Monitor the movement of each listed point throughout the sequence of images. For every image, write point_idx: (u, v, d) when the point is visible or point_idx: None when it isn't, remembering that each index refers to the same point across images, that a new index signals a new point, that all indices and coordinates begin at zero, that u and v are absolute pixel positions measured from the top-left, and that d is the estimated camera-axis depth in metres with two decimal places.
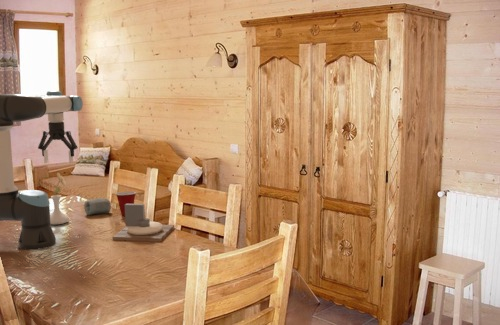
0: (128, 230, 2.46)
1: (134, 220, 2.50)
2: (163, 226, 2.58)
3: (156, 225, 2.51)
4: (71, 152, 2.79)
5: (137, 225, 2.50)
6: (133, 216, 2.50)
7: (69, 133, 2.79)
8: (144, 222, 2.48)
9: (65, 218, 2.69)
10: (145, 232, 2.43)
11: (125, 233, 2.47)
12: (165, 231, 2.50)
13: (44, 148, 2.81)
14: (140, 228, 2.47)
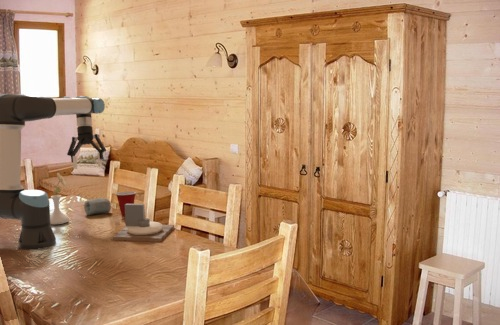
0: (128, 230, 2.46)
1: (134, 220, 2.50)
2: (163, 226, 2.58)
3: (156, 225, 2.51)
4: (100, 155, 2.78)
5: (137, 225, 2.50)
6: (133, 216, 2.50)
7: (98, 136, 2.80)
8: (144, 222, 2.48)
9: (65, 218, 2.69)
10: (145, 232, 2.43)
11: (125, 233, 2.47)
12: (165, 231, 2.50)
13: (73, 154, 2.80)
14: (140, 228, 2.47)
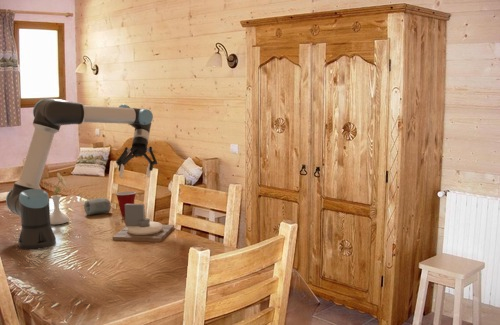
0: (128, 230, 2.46)
1: (134, 220, 2.50)
2: (163, 226, 2.58)
3: (156, 225, 2.51)
4: (150, 165, 2.65)
5: (137, 225, 2.50)
6: (133, 216, 2.50)
7: (152, 149, 2.71)
8: (144, 222, 2.48)
9: (65, 218, 2.69)
10: (145, 232, 2.43)
11: (125, 233, 2.47)
12: (165, 231, 2.50)
13: (122, 162, 2.67)
14: (140, 228, 2.47)
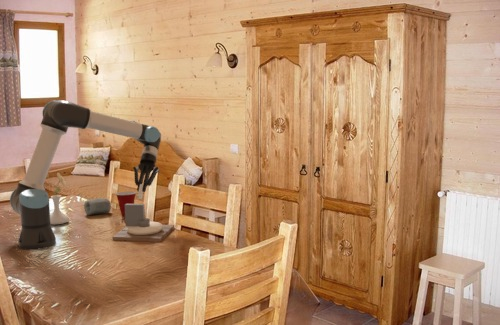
0: (128, 230, 2.46)
1: (134, 220, 2.50)
2: (163, 226, 2.58)
3: (156, 225, 2.51)
4: (143, 186, 2.61)
5: (137, 225, 2.50)
6: (133, 216, 2.50)
7: (157, 170, 2.67)
8: (144, 222, 2.48)
9: (65, 218, 2.69)
10: (145, 232, 2.43)
11: (125, 233, 2.47)
12: (165, 231, 2.50)
13: (140, 181, 2.62)
14: (140, 228, 2.47)
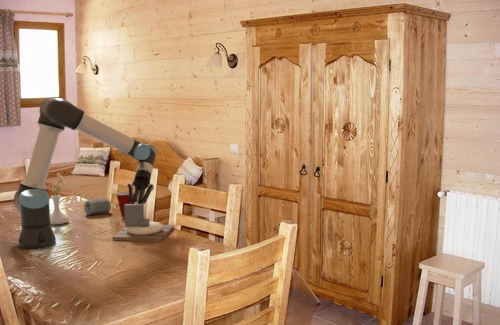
0: (129, 230, 2.45)
1: (134, 220, 2.49)
2: (163, 226, 2.58)
3: (156, 225, 2.52)
4: None
5: (137, 225, 2.50)
6: (132, 217, 2.49)
7: (152, 188, 2.60)
8: (145, 222, 2.48)
9: (65, 218, 2.69)
10: (147, 232, 2.44)
11: (125, 233, 2.47)
12: (165, 231, 2.50)
13: (135, 199, 2.56)
14: (141, 228, 2.46)
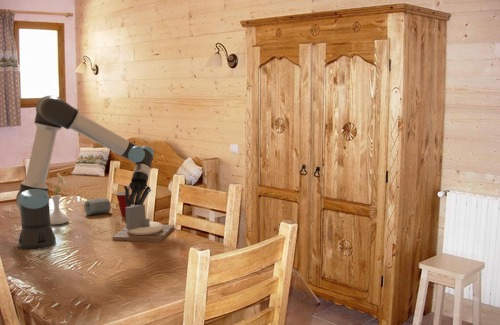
0: (140, 232, 2.43)
1: (137, 222, 2.47)
2: (163, 226, 2.58)
3: (152, 223, 2.55)
4: None
5: (140, 226, 2.48)
6: (136, 218, 2.46)
7: (149, 190, 2.56)
8: (148, 221, 2.50)
9: (65, 218, 2.69)
10: (158, 229, 2.48)
11: (125, 233, 2.47)
12: (165, 231, 2.50)
13: (131, 201, 2.52)
14: (149, 227, 2.47)
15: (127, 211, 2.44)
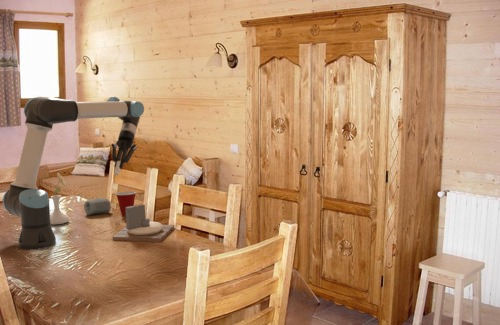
0: (140, 232, 2.43)
1: (137, 222, 2.47)
2: (163, 226, 2.58)
3: (152, 223, 2.55)
4: (121, 163, 2.65)
5: (140, 226, 2.48)
6: (136, 218, 2.46)
7: (134, 148, 2.70)
8: (148, 221, 2.50)
9: (65, 218, 2.69)
10: (158, 229, 2.48)
11: (125, 233, 2.47)
12: (165, 231, 2.50)
13: (118, 158, 2.67)
14: (149, 227, 2.47)
15: (127, 211, 2.44)
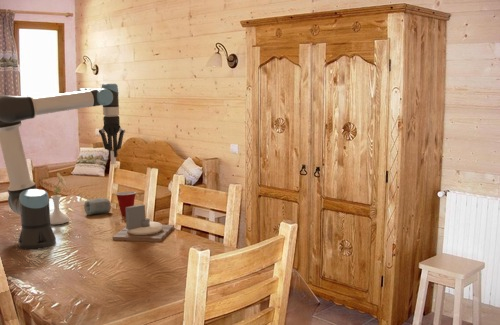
0: (140, 232, 2.43)
1: (137, 222, 2.47)
2: (163, 226, 2.58)
3: (152, 223, 2.55)
4: (114, 152, 2.67)
5: (140, 226, 2.48)
6: (136, 218, 2.46)
7: (123, 133, 2.65)
8: (148, 221, 2.50)
9: (65, 218, 2.69)
10: (158, 229, 2.48)
11: (125, 233, 2.47)
12: (165, 231, 2.50)
13: (110, 147, 2.66)
14: (149, 227, 2.47)
15: (127, 211, 2.44)
